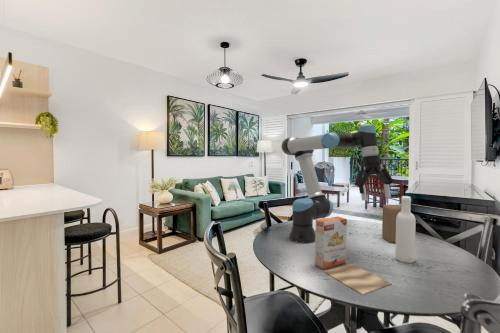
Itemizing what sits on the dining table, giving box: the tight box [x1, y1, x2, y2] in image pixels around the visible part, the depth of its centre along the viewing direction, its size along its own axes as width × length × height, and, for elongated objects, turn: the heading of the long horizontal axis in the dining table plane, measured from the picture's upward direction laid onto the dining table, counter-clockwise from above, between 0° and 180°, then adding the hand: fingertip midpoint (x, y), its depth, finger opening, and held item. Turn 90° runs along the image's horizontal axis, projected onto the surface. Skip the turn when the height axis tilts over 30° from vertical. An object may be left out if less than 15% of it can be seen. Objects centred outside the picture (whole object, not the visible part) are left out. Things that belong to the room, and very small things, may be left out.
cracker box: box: [314, 216, 348, 270], centre depth 111 cm, size 14×6×21 cm, turn 117°
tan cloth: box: [323, 263, 393, 296], centre depth 99 cm, size 19×16×1 cm
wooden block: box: [381, 204, 402, 244], centre depth 142 cm, size 10×10×20 cm
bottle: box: [394, 195, 417, 264], centre depth 115 cm, size 8×8×30 cm
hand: (376, 199), depth 118 cm, fingers open, 13 cm apart
